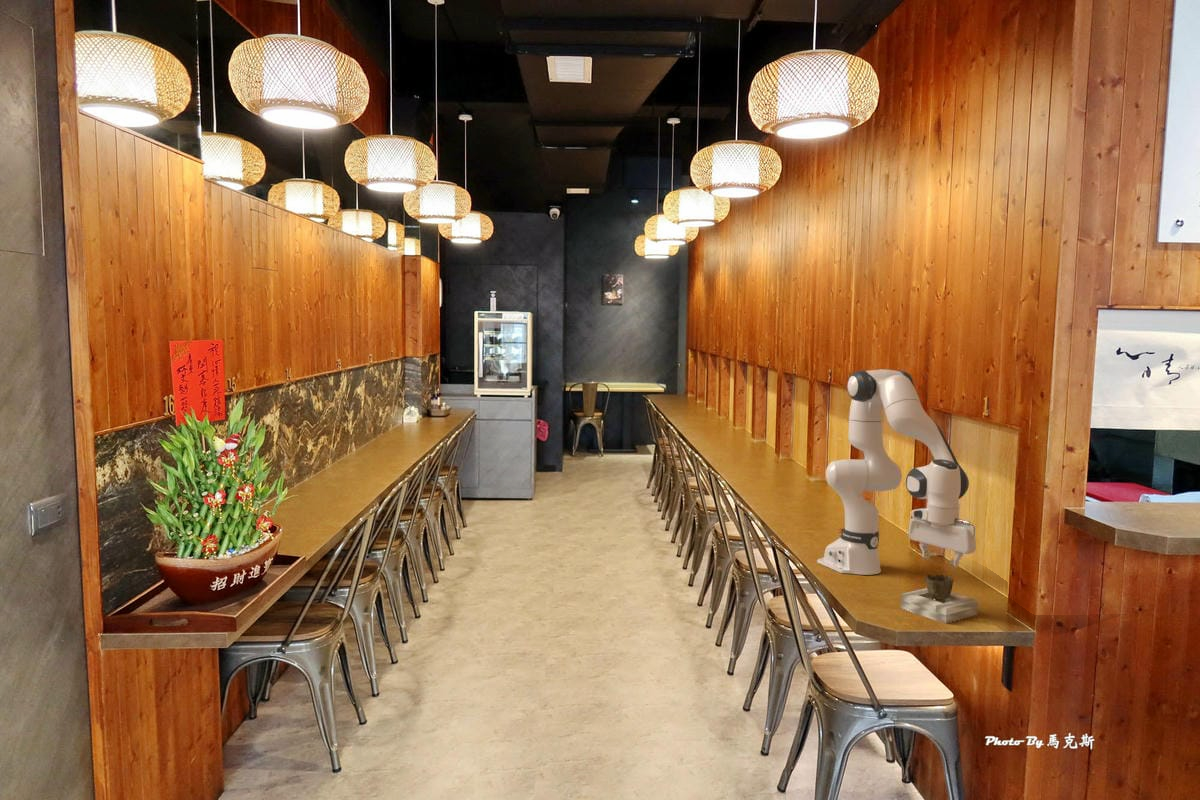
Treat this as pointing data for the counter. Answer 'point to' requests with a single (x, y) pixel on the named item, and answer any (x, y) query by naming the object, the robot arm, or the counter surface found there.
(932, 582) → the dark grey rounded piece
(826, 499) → the counter surface
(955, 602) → the white recessed square tray
